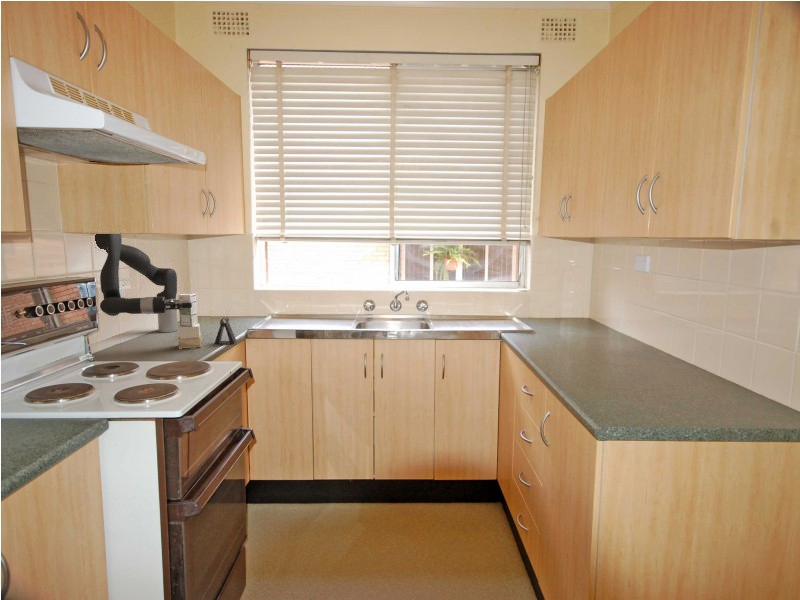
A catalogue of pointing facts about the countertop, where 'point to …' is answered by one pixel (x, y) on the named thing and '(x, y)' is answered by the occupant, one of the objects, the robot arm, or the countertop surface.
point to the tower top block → (189, 331)
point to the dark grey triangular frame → (229, 333)
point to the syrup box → (188, 310)
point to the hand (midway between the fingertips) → (192, 303)
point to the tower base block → (190, 342)
